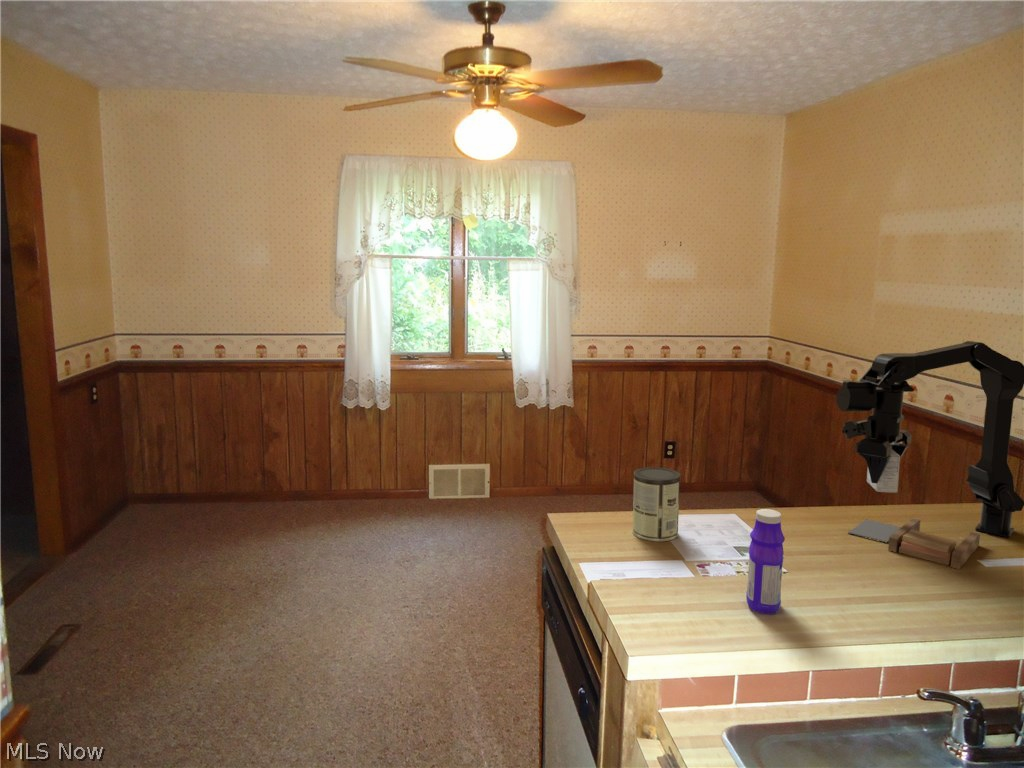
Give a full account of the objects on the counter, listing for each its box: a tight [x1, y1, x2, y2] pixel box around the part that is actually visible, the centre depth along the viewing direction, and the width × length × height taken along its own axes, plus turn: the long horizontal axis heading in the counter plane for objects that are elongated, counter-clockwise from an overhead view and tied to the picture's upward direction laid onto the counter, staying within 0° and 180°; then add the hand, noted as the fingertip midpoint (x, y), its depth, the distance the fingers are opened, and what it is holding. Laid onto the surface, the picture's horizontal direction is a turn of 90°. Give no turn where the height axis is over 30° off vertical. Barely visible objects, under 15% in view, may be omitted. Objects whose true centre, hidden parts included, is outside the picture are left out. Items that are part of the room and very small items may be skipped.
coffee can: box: [632, 466, 682, 543], centre depth 153 cm, size 10×10×14 cm
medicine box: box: [866, 450, 901, 494], centre depth 153 cm, size 8×4×9 cm, turn 167°
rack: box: [887, 517, 981, 570], centre depth 146 cm, size 17×13×3 cm
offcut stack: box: [898, 530, 957, 566], centre depth 142 cm, size 6×9×4 cm
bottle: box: [745, 508, 786, 615], centre depth 119 cm, size 7×6×17 cm
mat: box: [847, 518, 902, 544], centre depth 156 cm, size 12×8×1 cm, turn 135°
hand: (881, 478), depth 154 cm, fingers closed on medicine box, 9 cm apart
